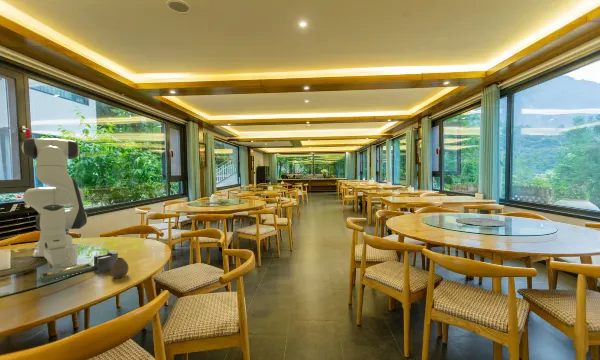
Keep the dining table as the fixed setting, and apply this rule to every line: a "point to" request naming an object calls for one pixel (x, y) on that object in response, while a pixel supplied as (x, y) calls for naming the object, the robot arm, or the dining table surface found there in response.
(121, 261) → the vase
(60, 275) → the tray
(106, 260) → the hitch block
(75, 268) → the hitch pin
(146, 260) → the dining table surface
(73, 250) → the white cup
